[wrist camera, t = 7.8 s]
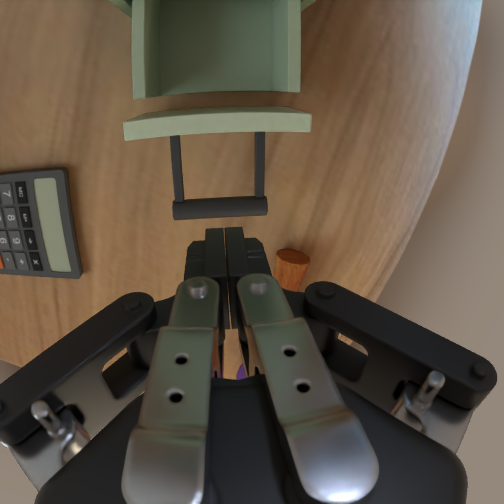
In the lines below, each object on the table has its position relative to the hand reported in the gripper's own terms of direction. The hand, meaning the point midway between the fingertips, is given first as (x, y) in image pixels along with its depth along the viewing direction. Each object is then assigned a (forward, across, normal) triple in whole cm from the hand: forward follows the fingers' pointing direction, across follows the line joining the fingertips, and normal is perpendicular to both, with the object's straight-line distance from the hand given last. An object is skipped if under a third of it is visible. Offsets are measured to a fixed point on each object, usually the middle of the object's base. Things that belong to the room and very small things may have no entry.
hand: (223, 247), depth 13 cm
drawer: (+14, 0, -7) cm, 16 cm away
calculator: (+15, +22, +4) cm, 27 cm away
